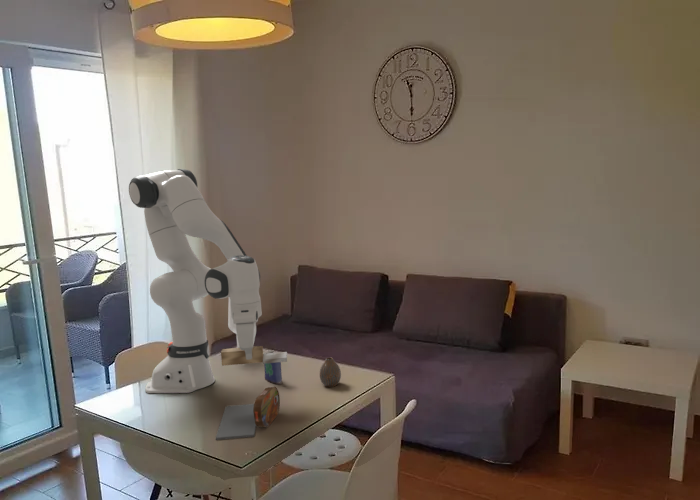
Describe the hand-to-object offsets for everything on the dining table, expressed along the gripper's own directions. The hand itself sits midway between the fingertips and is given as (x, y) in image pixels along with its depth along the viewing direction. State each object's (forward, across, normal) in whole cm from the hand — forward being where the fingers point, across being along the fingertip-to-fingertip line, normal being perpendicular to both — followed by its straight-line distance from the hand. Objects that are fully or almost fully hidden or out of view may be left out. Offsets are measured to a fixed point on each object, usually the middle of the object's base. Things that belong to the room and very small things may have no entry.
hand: (249, 356), depth 175 cm
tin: (+15, +12, +5) cm, 20 cm away
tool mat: (+15, +11, -3) cm, 19 cm away
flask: (+15, -20, +5) cm, 26 cm away
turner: (+2, 0, +1) cm, 2 cm away
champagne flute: (+15, -50, -8) cm, 53 cm away
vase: (+15, -12, +24) cm, 31 cm away
